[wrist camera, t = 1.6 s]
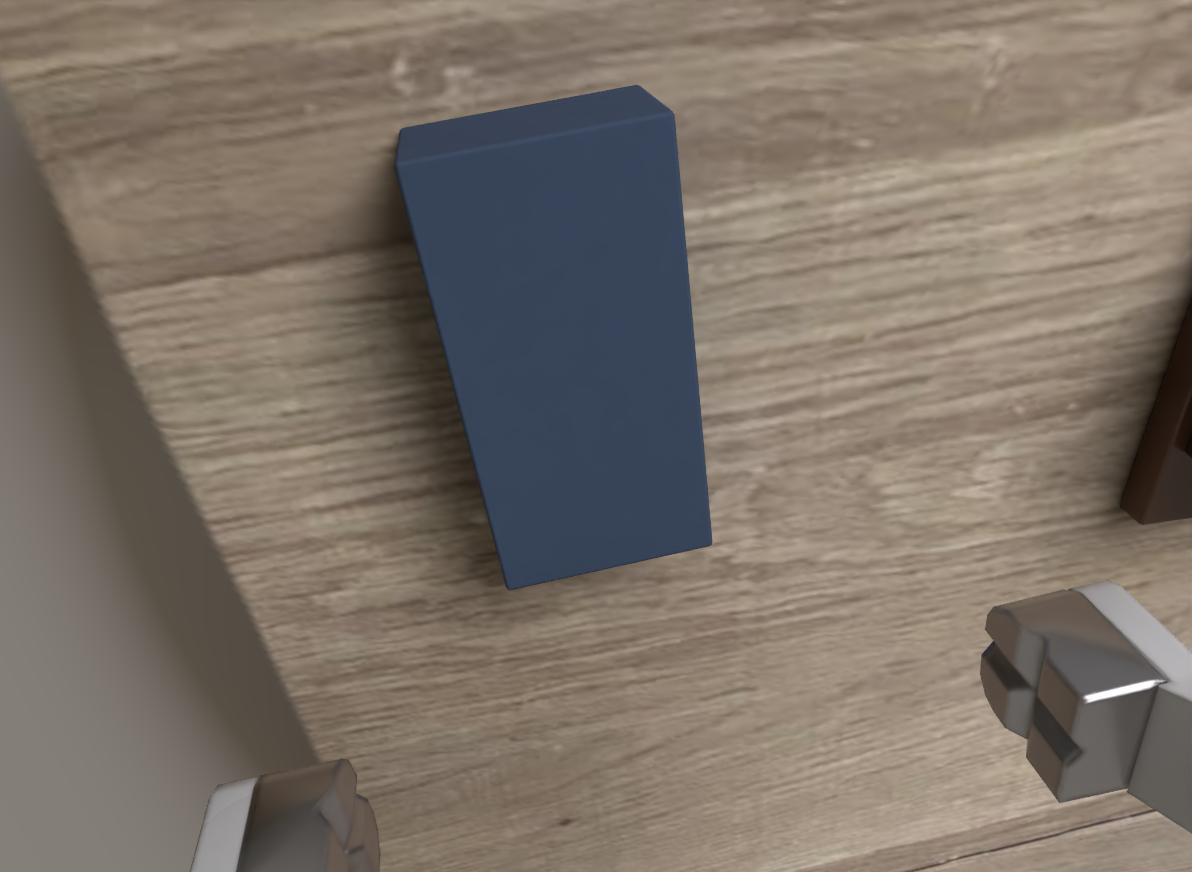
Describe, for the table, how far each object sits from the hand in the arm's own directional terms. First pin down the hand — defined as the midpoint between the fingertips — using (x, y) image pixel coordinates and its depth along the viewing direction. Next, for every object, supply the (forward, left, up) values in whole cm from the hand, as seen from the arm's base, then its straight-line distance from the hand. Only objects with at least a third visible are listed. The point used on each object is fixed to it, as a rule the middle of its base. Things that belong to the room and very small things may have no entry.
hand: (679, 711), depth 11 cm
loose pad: (0, 0, -11) cm, 11 cm away
